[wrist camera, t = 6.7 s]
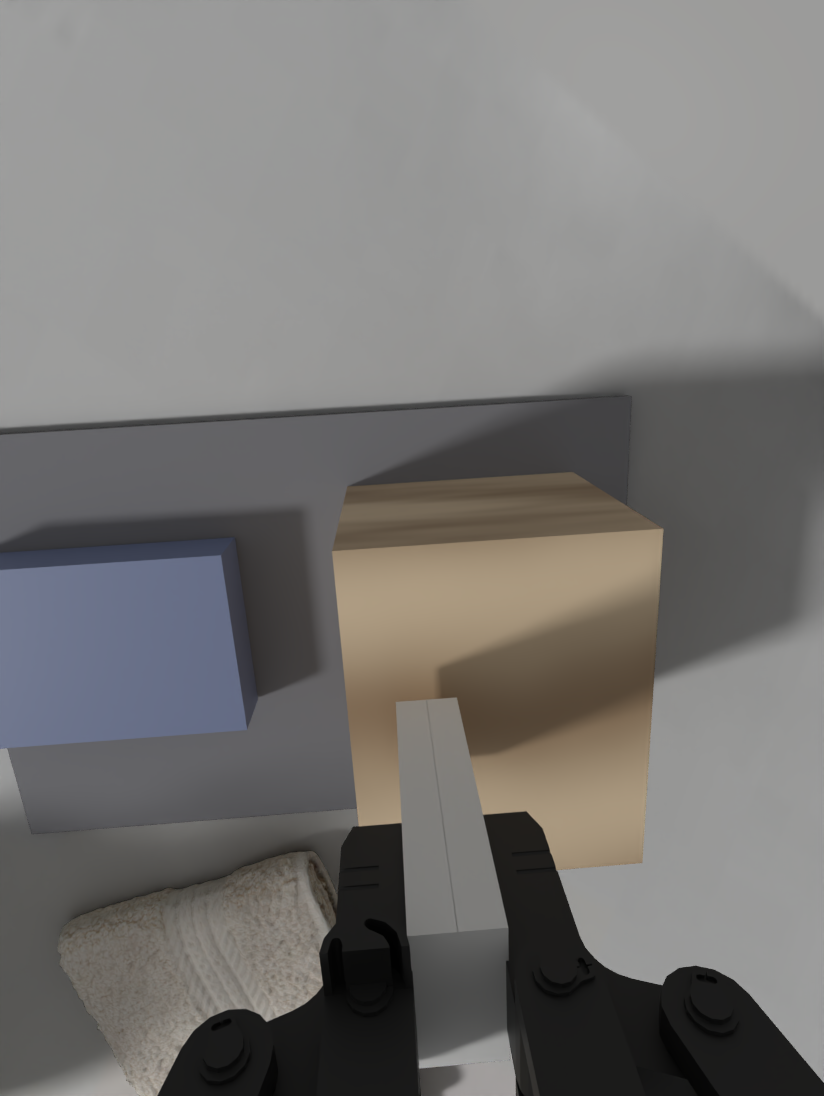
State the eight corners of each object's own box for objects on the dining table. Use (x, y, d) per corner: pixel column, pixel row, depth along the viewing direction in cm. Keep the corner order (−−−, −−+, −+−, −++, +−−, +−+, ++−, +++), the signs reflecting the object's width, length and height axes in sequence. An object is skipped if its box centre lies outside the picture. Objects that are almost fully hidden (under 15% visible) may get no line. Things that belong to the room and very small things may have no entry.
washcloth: (220, 1157, 34) (204, 1235, 31) (60, 903, 28) (22, 967, 25) (436, 1097, 33) (441, 1171, 30) (313, 827, 28) (305, 883, 25)
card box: (-12, 749, 22) (22, 714, 24) (247, 730, 23) (258, 697, 25) (-63, 574, 20) (-22, 553, 23) (220, 555, 21) (235, 536, 23)
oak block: (565, 713, 26) (642, 862, 18) (368, 727, 26) (364, 886, 18) (569, 469, 23) (663, 528, 15) (347, 484, 23) (331, 550, 15)
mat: (610, 781, 27) (613, 787, 27) (36, 827, 26) (31, 834, 26) (627, 395, 22) (631, 396, 22) (-72, 438, 22) (-80, 439, 21)
